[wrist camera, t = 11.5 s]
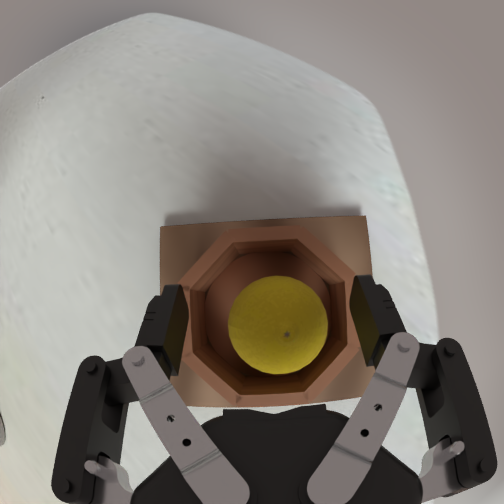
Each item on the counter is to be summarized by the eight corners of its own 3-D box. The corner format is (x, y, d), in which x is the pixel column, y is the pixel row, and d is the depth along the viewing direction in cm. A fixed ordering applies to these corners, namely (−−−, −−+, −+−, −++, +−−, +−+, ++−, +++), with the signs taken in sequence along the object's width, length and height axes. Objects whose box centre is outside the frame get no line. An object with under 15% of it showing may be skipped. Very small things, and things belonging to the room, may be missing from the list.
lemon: (274, 262, 21) (293, 245, 13) (324, 320, 20) (369, 336, 13) (214, 313, 20) (197, 328, 12) (266, 370, 20) (279, 415, 12)
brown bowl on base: (171, 400, 21) (147, 425, 16) (164, 229, 23) (137, 209, 18) (370, 390, 20) (397, 413, 15) (361, 219, 23) (387, 196, 17)
